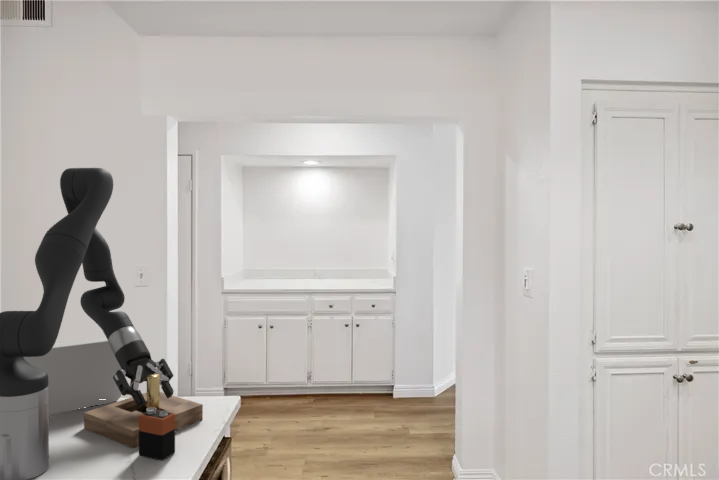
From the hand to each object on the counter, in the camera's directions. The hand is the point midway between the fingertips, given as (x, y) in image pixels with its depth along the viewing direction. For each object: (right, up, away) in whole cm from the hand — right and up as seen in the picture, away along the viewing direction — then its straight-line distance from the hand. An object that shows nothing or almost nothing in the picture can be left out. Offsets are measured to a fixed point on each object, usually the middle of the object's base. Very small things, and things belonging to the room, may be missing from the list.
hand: (157, 400), depth 124 cm
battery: (+5, -8, -14) cm, 17 cm away
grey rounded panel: (-31, -6, +12) cm, 33 cm away
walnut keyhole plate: (-4, -7, +3) cm, 9 cm away
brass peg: (-2, -7, +1) cm, 7 cm away
